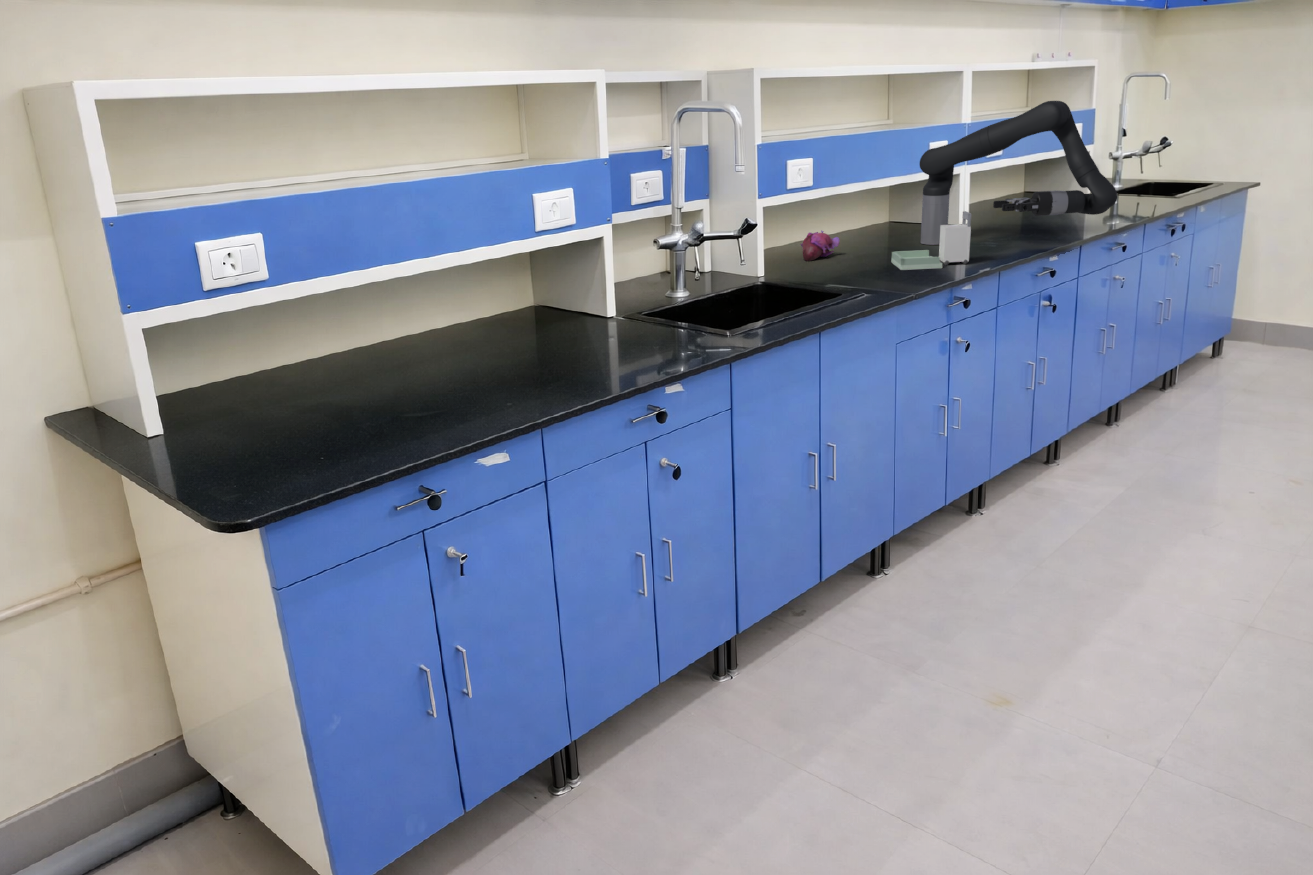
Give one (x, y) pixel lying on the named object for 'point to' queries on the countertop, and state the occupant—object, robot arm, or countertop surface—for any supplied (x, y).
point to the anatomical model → (818, 245)
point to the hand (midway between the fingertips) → (998, 206)
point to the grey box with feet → (955, 241)
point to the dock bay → (915, 260)
